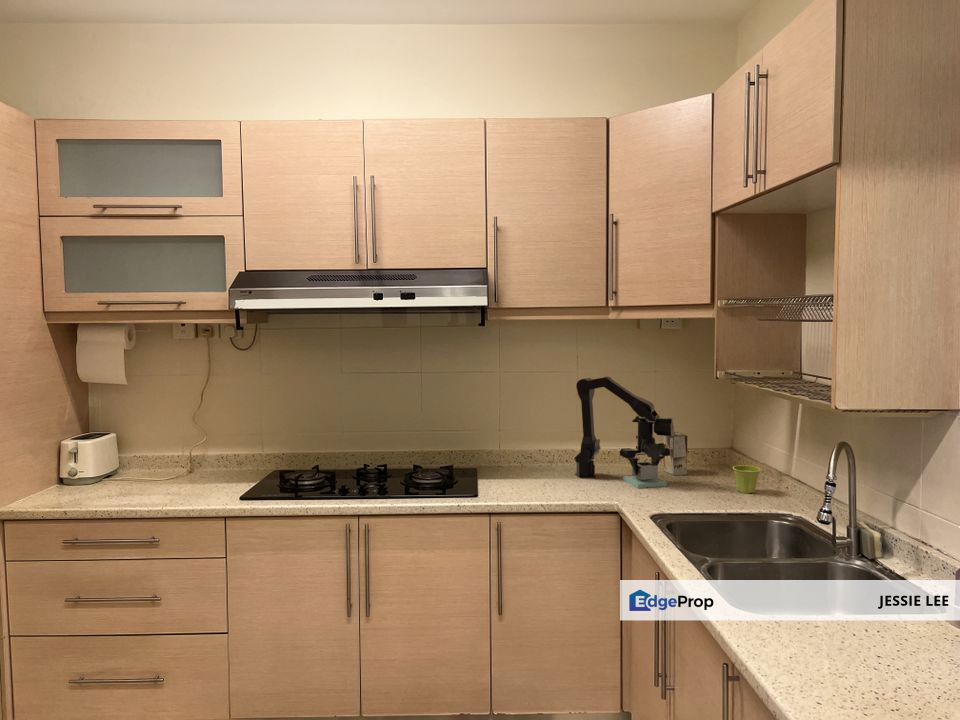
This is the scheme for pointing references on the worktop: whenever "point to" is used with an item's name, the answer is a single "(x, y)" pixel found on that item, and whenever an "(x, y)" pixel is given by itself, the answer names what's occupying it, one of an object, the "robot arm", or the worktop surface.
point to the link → (646, 470)
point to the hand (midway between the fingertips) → (644, 474)
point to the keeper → (644, 482)
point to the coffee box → (676, 454)
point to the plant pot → (746, 478)
